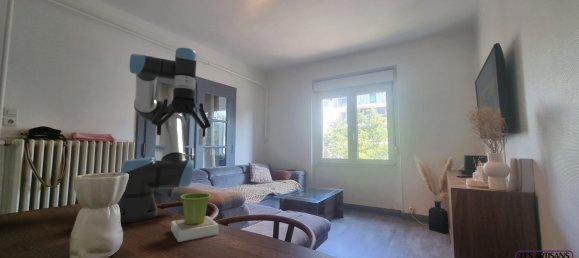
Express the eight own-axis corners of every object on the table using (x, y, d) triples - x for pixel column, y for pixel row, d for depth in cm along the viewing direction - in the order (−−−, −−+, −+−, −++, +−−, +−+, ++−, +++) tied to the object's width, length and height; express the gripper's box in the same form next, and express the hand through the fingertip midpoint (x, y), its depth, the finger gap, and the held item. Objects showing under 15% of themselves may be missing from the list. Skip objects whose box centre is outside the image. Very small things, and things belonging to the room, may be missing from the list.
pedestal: (171, 230, 80) (171, 220, 80) (207, 224, 87) (207, 215, 87) (178, 242, 70) (178, 230, 70) (218, 234, 77) (218, 223, 77)
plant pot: (215, 219, 82) (216, 193, 83) (197, 228, 73) (198, 199, 74) (192, 216, 84) (193, 192, 85) (172, 225, 75) (173, 197, 76)
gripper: (147, 81, 80) (143, 144, 79) (219, 92, 95) (217, 145, 93) (145, 85, 86) (141, 144, 85) (213, 95, 101) (211, 145, 99)
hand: (181, 145), depth 89 cm, fingers open, 13 cm apart
